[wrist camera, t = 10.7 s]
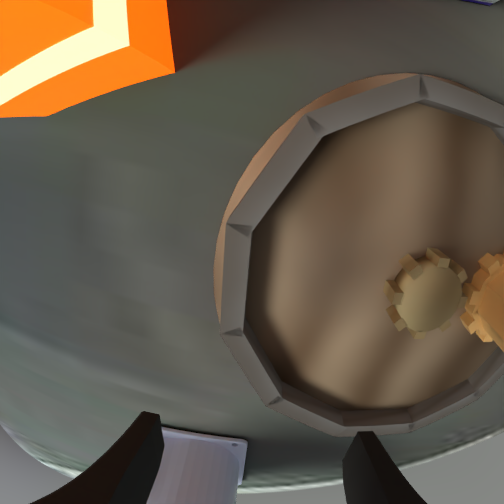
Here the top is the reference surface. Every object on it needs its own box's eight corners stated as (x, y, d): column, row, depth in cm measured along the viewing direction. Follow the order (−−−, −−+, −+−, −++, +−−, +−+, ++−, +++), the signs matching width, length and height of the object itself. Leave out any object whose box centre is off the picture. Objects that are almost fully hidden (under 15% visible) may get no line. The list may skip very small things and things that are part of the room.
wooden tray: (211, 410, 22) (206, 435, 20) (233, 43, 14) (226, 28, 12) (478, 407, 22) (489, 425, 19) (566, 139, 13) (589, 143, 11)
